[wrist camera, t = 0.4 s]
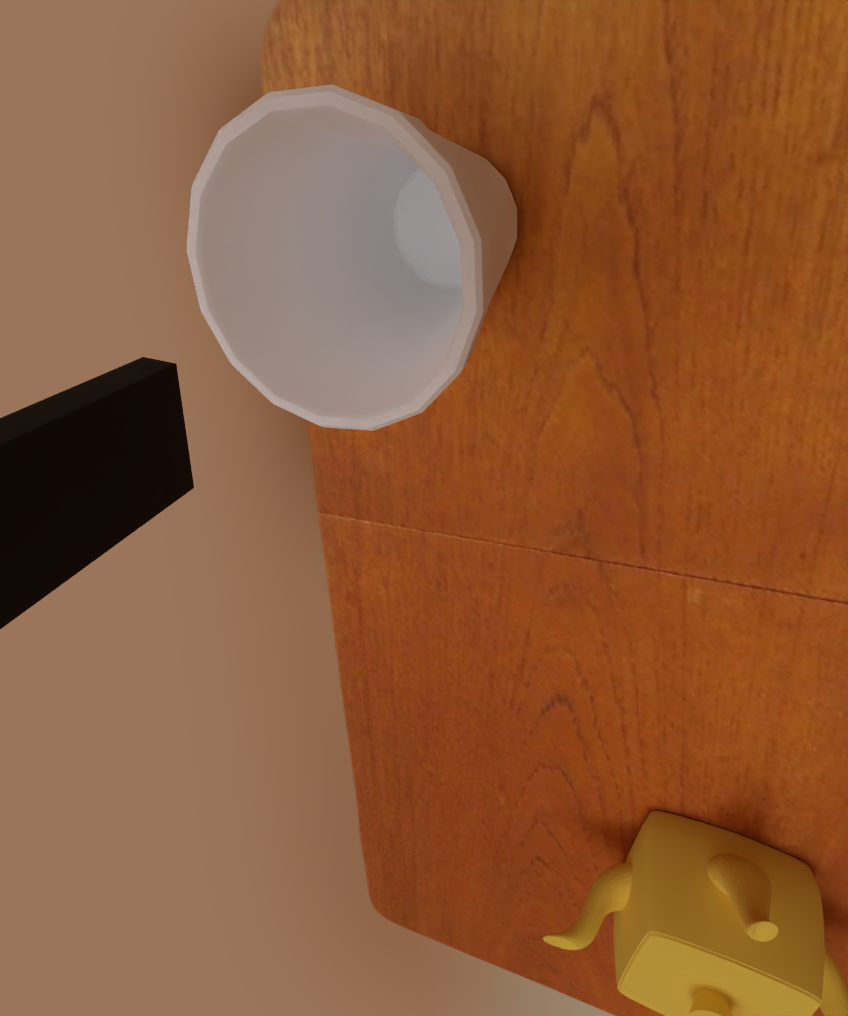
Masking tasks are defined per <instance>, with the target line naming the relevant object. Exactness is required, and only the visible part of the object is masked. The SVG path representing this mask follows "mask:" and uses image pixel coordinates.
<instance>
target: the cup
mask: <svg viewBox="0 0 848 1016" xmlns="http://www.w3.org/2000/svg"><path fill="white" fill-rule="evenodd" d="M516 240H517V207H516V204H515V201H514V199H513V196H512V194H511V191H510V189H509V186H508V184H507V181H506V180H505V179H504V177H503V176H502V175H501V174H500V173H499V172H498V171H497V170H496V169H495V167H494V166H493V165H492V164H491V163H490V162H489V161H488V160H487V159H485V158H483V157H481V156H479V155H477V154H475V153H473V152H471V151H470V150H468V149H466V148H464V147H462V146H460V145H458V144H456V143H454V142H452V141H450V140H448V139H446V138H444V137H442V136H440V135H438V134H436V133H434V132H432V131H430V130H429V129H428V128H427V127H426V126H425V125H424V124H423V123H422V122H421V120H420V119H418V118H416V117H413V116H411V115H408V114H406V113H403V112H401V111H398V110H396V109H393V108H391V107H388V106H386V105H383V104H380V103H378V102H375V101H373V100H370V99H368V98H365V97H363V96H360V95H358V94H355V93H353V92H350V91H348V90H345V89H343V88H340V87H338V86H335V85H332V84H331V85H323V86H315V87H307V88H299V89H291V90H282V91H274V92H268V93H267V94H265V95H264V96H263V97H261V98H260V99H259V100H258V101H256V102H255V103H254V104H252V105H251V106H250V107H248V108H247V109H246V110H244V111H243V112H242V113H241V114H239V115H238V116H237V117H235V118H234V119H233V120H231V121H230V122H229V123H227V124H226V125H225V126H223V127H222V128H221V129H219V131H218V133H217V135H216V137H215V139H214V141H213V143H212V145H211V147H210V150H209V152H208V154H207V156H206V158H205V160H204V162H203V164H202V166H201V168H200V170H199V172H198V174H197V176H196V178H195V180H194V182H193V184H192V188H191V200H190V212H189V225H188V236H187V247H186V250H187V254H188V258H189V262H190V267H191V271H192V275H193V280H194V284H195V288H196V293H197V297H198V301H199V305H200V309H201V312H202V314H203V316H204V317H205V319H206V321H207V323H208V324H209V326H210V328H211V329H212V331H213V333H214V335H215V337H216V338H217V340H218V342H219V344H220V345H221V347H222V349H223V351H224V353H225V354H226V356H227V358H228V360H229V361H230V363H231V364H232V365H233V366H234V367H235V368H236V369H237V370H238V371H239V372H240V373H241V374H242V375H243V376H244V377H245V378H246V379H247V380H248V381H249V382H250V383H252V384H253V385H254V386H255V387H256V388H257V389H258V390H259V391H260V392H261V393H262V394H263V395H264V396H265V397H266V398H267V399H268V400H269V401H270V402H271V403H272V404H274V405H276V406H278V407H281V408H283V409H285V410H287V411H289V412H291V413H293V414H296V415H297V416H300V417H302V418H304V419H306V420H308V421H310V422H312V423H314V424H317V425H319V426H321V427H329V428H343V429H357V430H371V431H374V430H377V429H379V428H382V427H385V426H387V425H390V424H393V423H396V422H398V421H401V420H404V419H406V418H409V417H412V416H414V415H417V414H420V413H422V412H423V411H424V410H425V409H426V408H427V407H428V406H429V405H430V404H431V403H432V402H433V401H434V400H435V399H436V398H437V397H438V396H439V395H440V394H441V393H442V392H443V391H444V390H445V389H446V388H447V387H448V386H449V385H450V383H451V382H452V381H453V380H454V379H455V378H456V377H457V376H458V375H459V374H460V373H461V372H462V370H463V368H464V367H465V365H466V363H467V361H468V359H469V358H470V356H471V354H472V352H473V349H474V347H475V344H476V341H477V338H478V335H479V333H480V330H481V327H482V324H483V322H484V319H485V316H486V313H487V310H488V308H489V305H490V302H491V300H492V298H493V295H494V293H495V291H496V289H497V287H498V284H499V282H500V280H501V278H502V275H503V273H504V271H505V269H506V267H507V264H508V262H509V259H510V257H511V254H512V251H513V248H514V246H515V243H516Z"/></svg>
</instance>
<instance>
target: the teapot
mask: <svg viewBox="0 0 848 1016" xmlns="http://www.w3.org/2000/svg"><path fill="white" fill-rule="evenodd" d="M613 911H614V954H615V967H616V979H617V988H618V990H619V991H620V992H621V993H622V994H623V995H625V996H627V997H628V998H630V999H632V1000H634V1001H636V1002H638V1003H640V1004H642V1005H644V1006H646V1007H648V1008H650V1009H652V1010H654V1011H656V1012H659V1013H661V1014H663V1016H812V1014H813V1013H814V1012H815V1011H816V1010H817V1008H818V1007H820V1009H821V1011H822V1012H823V1014H824V1016H848V990H847V986H846V983H845V980H844V978H843V975H842V973H841V971H840V968H839V966H838V964H837V963H836V961H835V959H834V958H833V956H832V954H831V953H830V952H829V951H828V949H827V948H826V947H825V934H824V918H823V907H822V900H821V893H820V890H819V887H818V884H817V882H816V880H815V877H814V875H813V873H812V871H811V869H810V867H809V866H808V865H807V864H805V863H804V862H802V861H800V860H798V859H796V858H794V857H792V856H790V855H787V854H785V853H783V852H781V851H778V850H776V849H774V848H771V847H769V846H766V845H764V844H762V843H759V842H757V841H754V840H752V839H749V838H747V837H744V836H742V835H739V834H736V833H734V832H731V831H728V830H725V829H722V828H719V827H716V826H713V825H709V824H706V823H703V822H700V821H696V820H693V819H690V818H686V817H683V816H679V815H675V814H672V813H668V812H663V811H652V812H651V813H650V814H649V815H648V817H647V818H646V820H645V822H644V823H643V825H642V827H641V829H640V831H639V833H638V835H637V837H636V839H635V841H634V843H633V845H632V847H631V849H630V852H629V854H628V856H627V859H626V861H625V863H618V864H615V865H613V866H611V867H609V868H607V869H606V870H604V871H603V872H602V873H601V874H600V875H599V876H598V878H597V879H596V881H595V882H594V884H593V885H592V887H591V890H590V892H589V894H588V897H587V899H586V902H585V904H584V907H583V909H582V912H581V914H580V916H579V917H578V919H577V921H576V922H575V923H574V924H573V925H572V926H571V927H570V928H568V929H567V930H565V931H563V932H560V933H556V934H550V935H547V936H544V937H543V940H544V941H545V942H547V943H548V944H550V945H553V946H556V947H559V948H563V949H567V950H579V949H583V948H585V947H586V946H588V945H589V944H590V943H591V942H592V941H593V940H594V938H595V936H596V935H597V932H598V930H599V928H600V925H601V923H602V921H603V919H604V917H605V916H606V915H607V914H608V913H610V912H613Z"/></svg>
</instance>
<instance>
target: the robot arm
mask: <svg viewBox="0 0 848 1016" xmlns="http://www.w3.org/2000/svg"><path fill="white" fill-rule="evenodd" d="M193 488H194V486H193V478H192V471H191V464H190V457H189V450H188V443H187V436H186V429H185V422H184V415H183V408H182V401H181V394H180V388H179V380H178V373H177V366H176V364H175V363H169V362H165V361H160V360H155V359H150V358H145V357H142V358H140V359H138V360H135V361H133V362H131V363H128V364H126V365H124V366H121V367H119V368H117V369H114V370H112V371H110V372H107V373H105V374H103V375H100V376H98V377H96V378H93V379H91V380H89V381H86V382H84V383H81V384H79V385H77V386H74V387H72V388H70V389H68V390H65V391H63V392H60V393H58V394H56V395H53V396H51V397H49V398H46V399H44V400H42V401H39V402H37V403H35V404H32V405H30V406H28V407H26V408H23V409H21V410H18V411H16V412H14V413H11V414H9V415H7V416H4V417H2V418H0V629H1V628H3V627H4V626H5V625H7V624H8V623H9V622H10V621H12V620H14V619H15V618H16V617H18V616H19V615H20V614H22V613H23V612H24V611H26V610H27V609H29V608H30V607H31V606H33V605H34V604H35V603H37V602H38V601H40V600H41V599H42V598H44V597H45V596H46V595H48V594H49V593H50V592H52V591H53V590H55V589H56V588H57V587H59V586H60V585H61V584H63V583H64V582H65V581H67V580H68V579H70V578H71V577H72V576H74V575H75V574H77V573H78V572H79V571H81V570H82V569H83V568H85V567H86V566H87V565H89V564H90V563H91V562H93V561H94V560H96V559H97V558H98V557H100V556H101V555H103V554H104V553H105V552H107V551H108V550H109V549H111V548H112V547H113V546H115V545H116V544H117V543H119V542H120V541H122V540H123V539H124V538H126V537H127V536H128V535H130V534H131V533H133V532H134V531H135V530H137V529H138V528H139V527H141V526H142V525H144V524H145V523H146V522H148V521H149V520H150V519H152V518H153V517H154V516H156V515H157V514H158V513H160V512H161V511H163V510H164V509H165V508H167V507H168V506H170V505H171V504H172V503H174V502H175V501H176V500H178V499H179V498H181V497H182V496H183V495H185V494H186V493H187V492H189V491H190V490H191V489H193Z"/></svg>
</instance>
